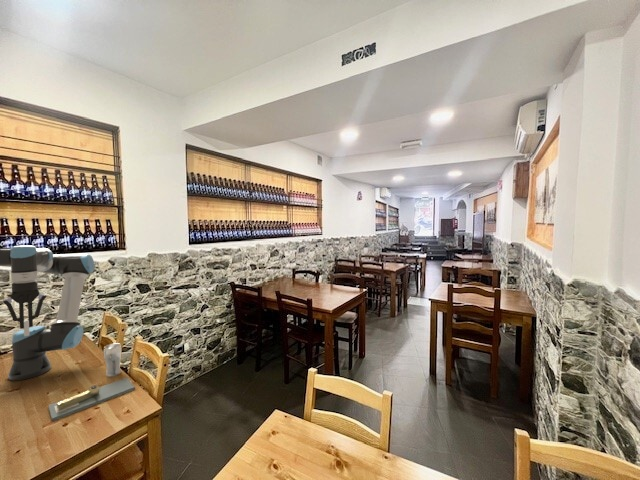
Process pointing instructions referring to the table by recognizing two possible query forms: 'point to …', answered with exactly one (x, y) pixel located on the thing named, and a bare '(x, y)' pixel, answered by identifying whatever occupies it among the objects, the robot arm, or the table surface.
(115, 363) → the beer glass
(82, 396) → the latch bar
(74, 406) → the door board
